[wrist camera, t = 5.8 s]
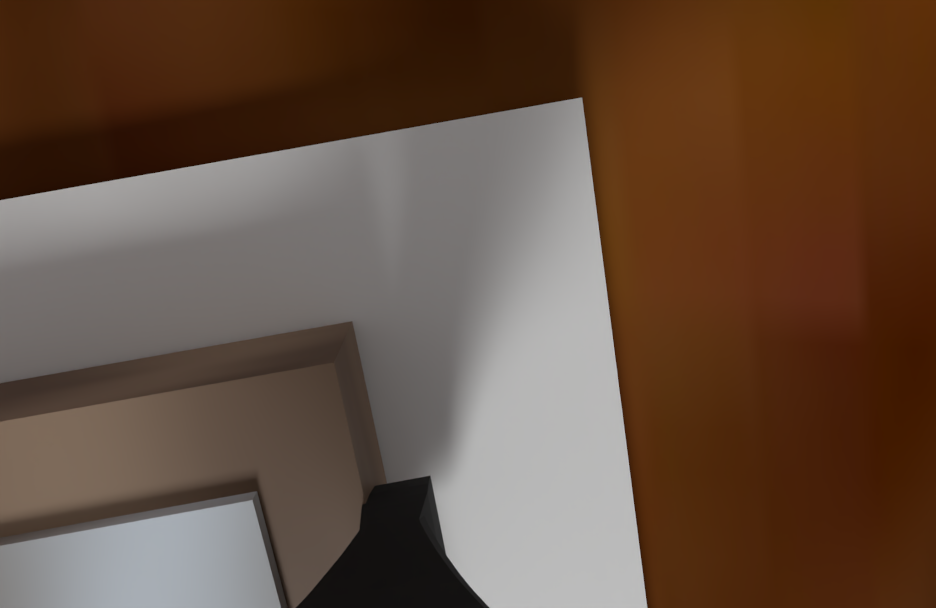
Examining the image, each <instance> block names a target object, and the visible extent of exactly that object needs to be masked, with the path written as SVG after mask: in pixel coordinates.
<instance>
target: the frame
mask: <svg viewBox="0 0 936 608" xmlns="http://www.w3.org/2000/svg"><path fill="white" fill-rule="evenodd" d="M382 484H387V481H386V476H385V472H384V467H383V462H382V458H381V453H380V448H379V444H378V439H377V434H376V430H375V425H374V420H373V416H372V411H371V406H370V402H369V397H368V392H367V387H366V383H365V378H364V373H363V369H362V364H361V359H360V355H359V350H358V345H357V341H356V336H355V331H354V327H353V322H352V321H351V322H345V323H339V324H334V325H328V326H322V327H317V328H311V329H305V330H300V331H294V332H288V333H283V334H277V335H271V336H266V337H260V338H254V339H249V340H243V341H237V342H232V343H226V344H220V345H215V346H209V347H203V348H198V349H192V350H186V351H181V352H175V353H169V354H164V355H158V356H152V357H146V358H141V359H135V360H129V361H124V362H118V363H112V364H107V365H101V366H95V367H90V368H84V369H78V370H73V371H67V372H61V373H56V374H50V375H44V376H39V377H33V378H27V379H22V380H16V381H10V382H5V383H0V608H296V607H297V606H298V605H299V604H300V603H301V602H302V601H303V600H304V598H305V597H306V596H307V595H308V594H309V593H310V592H311V591H312V590H313V588H314V587H315V586H316V585H317V584H318V582H319V581H320V580H321V579H322V578H323V576H324V575H325V574H326V573H327V572H328V570H329V569H330V568H331V567H332V566H333V564H334V563H335V562H336V561H337V560H338V558H339V557H340V556H341V555H342V553H343V552H344V550H345V549H346V548H347V546H348V545H349V544H350V542H351V541H352V540H353V538H354V537H355V535H356V534H357V533H358V531H359V529H360V519H361V509H362V504H366V501H367V499H368V497H369V494H370V493H371V491H372V489H373V488H374V486H376V485H382Z"/></svg>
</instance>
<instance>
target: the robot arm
mask: <svg viewBox="0 0 936 608" xmlns="http://www.w3.org/2000/svg"><path fill="white" fill-rule="evenodd" d="M296 608H489V607H488V606H487V605H486V604H485V602H484V601H483V600H482V599H481V598H480V597H479V596H478V595H477V594H476V593H475V592H474V591H473V589H472V588H471V587H470V586H469V585H468V583H467V582H466V581H465V580H464V578H463V577H462V576H461V575H460V573H459V572H458V571H457V569H456V568H455V567H454V565H453V564H452V562H451V561H450V560H449V558H448V557H447V555H446V552H445V546H444V541H443V536H442V531H441V526H440V521H439V516H438V511H437V506H436V501H435V496H434V491H433V486H432V481H431V476H425V477H420V478H414V479H409V480H403V481H398V482H393V483H387V484H382V485H376V486H374V488H373V489H372V491H371V493H370V494H369V497H368V499H367V501H366V504H362V509H361V519H360V529H359V531H358V533H357V534H356V535H355V537H354V538H353V540H352V541H351V542H350V544H349V545H348V546H347V548H346V549H345V550H344V552H343V553H342V555H341V556H340V557H339V558H338V560H337V561H336V562H335V563H334V564H333V566H332V567H331V568H330V569H329V570H328V572H327V573H326V574H325V575H324V576H323V578H322V579H321V580H320V581H319V582H318V584H317V585H316V586H315V587H314V588H313V590H312V591H311V592H310V593H309V594H308V595H307V596H306V597H305V598H304V600H303V601H302V602H301V603H300V604H299V605H298V606H297V607H296Z"/></svg>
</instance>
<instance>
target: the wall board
mask: <svg viewBox="0 0 936 608" xmlns="http://www.w3.org/2000/svg"><path fill="white" fill-rule="evenodd" d="M351 321H352V322H353V327H354V331H355V336H356V341H357V345H358V350H359V355H360V359H361V364H362V369H363V373H364V378H365V383H366V387H367V392H368V397H369V402H370V406H371V411H372V416H373V420H374V425H375V430H376V434H377V439H378V444H379V448H380V453H381V458H382V462H383V467H384V472H385V476H386V481H387V483H393V482H398V481H403V480H409V479H414V478H420V477H425V476H431V481H432V486H433V491H434V496H435V501H436V506H437V511H438V516H439V521H440V526H441V531H442V536H443V541H444V546H445V552H446V555H447V557H448V558H449V560H450V561H451V562H452V564H453V565H454V567H455V568H456V569H457V571H458V572H459V573H460V575H461V576H462V577H463V578H464V580H465V581H466V582H467V583H468V585H469V586H470V587H471V588H472V589H473V591H474V592H475V593H476V594H477V595H478V596H479V597H480V598H481V599H482V600H483V601H484V602H485V604H486V605H487V606H488V607H489V608H647V602H646V594H645V586H644V578H643V570H642V563H641V555H640V547H639V539H638V531H637V523H636V516H635V508H634V500H633V492H632V484H631V476H630V469H629V461H628V453H627V445H626V437H625V430H624V422H623V414H622V406H621V398H620V390H619V383H618V375H617V367H616V359H615V351H614V343H613V336H612V328H611V320H610V312H609V304H608V297H607V289H606V281H605V273H604V265H603V257H602V250H601V242H600V234H599V226H598V218H597V210H596V203H595V195H594V187H593V179H592V171H591V163H590V156H589V148H588V140H587V132H586V124H585V117H584V109H583V101H582V98H576V99H570V100H565V101H559V102H553V103H548V104H542V105H536V106H531V107H525V108H519V109H514V110H508V111H503V112H497V113H491V114H486V115H480V116H474V117H469V118H463V119H457V120H452V121H446V122H440V123H435V124H429V125H423V126H418V127H412V128H406V129H401V130H395V131H389V132H384V133H378V134H372V135H367V136H361V137H355V138H350V139H344V140H338V141H333V142H327V143H321V144H316V145H310V146H304V147H299V148H293V149H287V150H282V151H276V152H270V153H265V154H259V155H254V156H248V157H242V158H237V159H231V160H225V161H220V162H214V163H208V164H203V165H197V166H191V167H186V168H180V169H174V170H169V171H163V172H157V173H152V174H146V175H140V176H135V177H129V178H123V179H118V180H112V181H106V182H101V183H95V184H89V185H84V186H78V187H72V188H67V189H61V190H55V191H50V192H44V193H38V194H33V195H27V196H21V197H16V198H10V199H5V200H0V383H5V382H10V381H16V380H22V379H27V378H33V377H39V376H44V375H50V374H56V373H61V372H67V371H73V370H78V369H84V368H90V367H95V366H101V365H107V364H112V363H118V362H124V361H129V360H135V359H141V358H146V357H152V356H158V355H164V354H169V353H175V352H181V351H186V350H192V349H198V348H203V347H209V346H215V345H220V344H226V343H232V342H237V341H243V340H249V339H254V338H260V337H266V336H271V335H277V334H283V333H288V332H294V331H300V330H305V329H311V328H317V327H322V326H328V325H334V324H339V323H345V322H351Z"/></svg>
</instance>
